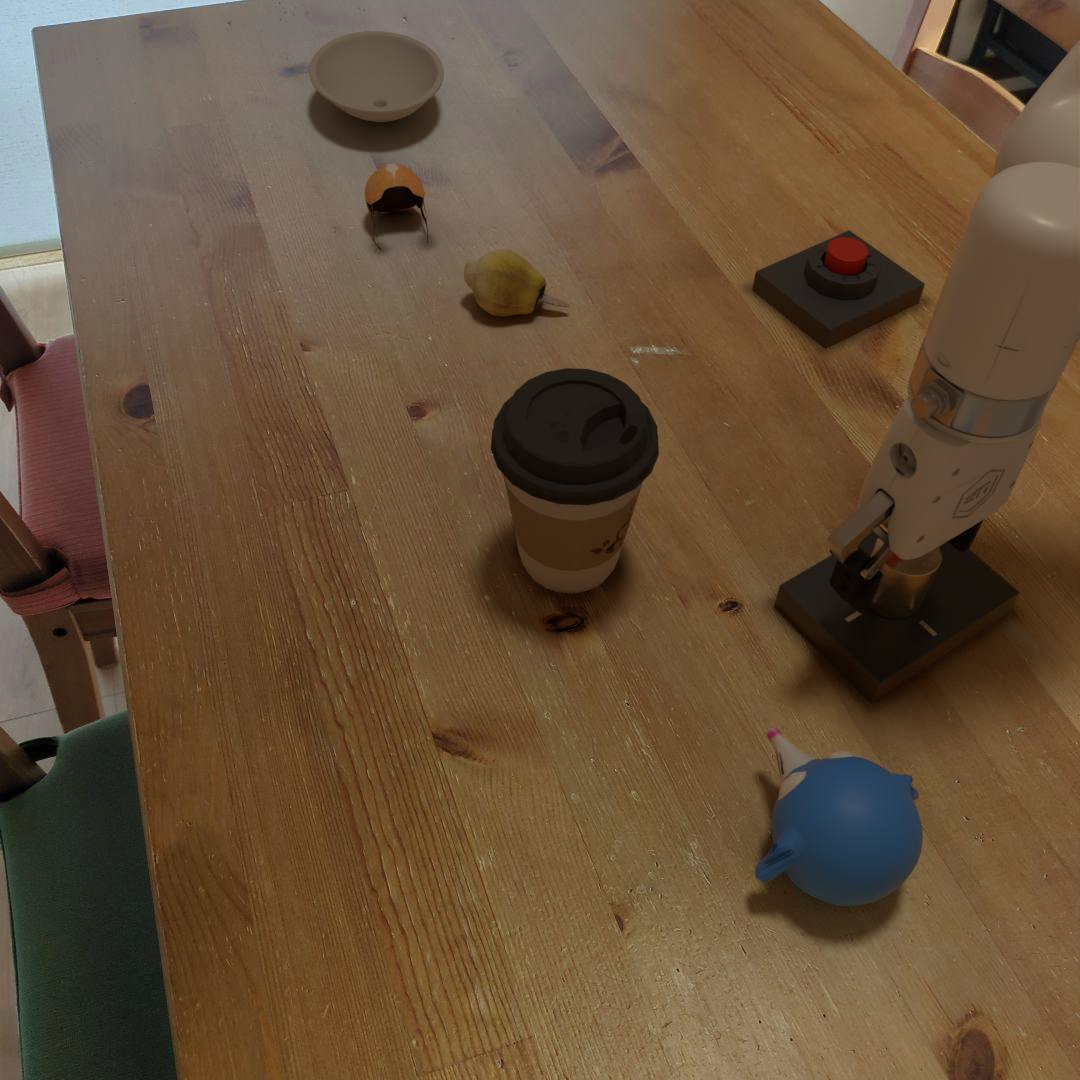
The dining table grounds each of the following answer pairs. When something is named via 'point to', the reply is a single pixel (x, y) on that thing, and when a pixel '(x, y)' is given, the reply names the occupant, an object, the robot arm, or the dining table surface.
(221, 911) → the dining table surface
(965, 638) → the dial panel
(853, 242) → the button
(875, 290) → the button box
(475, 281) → the fruit
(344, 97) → the dish
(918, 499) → the robot arm
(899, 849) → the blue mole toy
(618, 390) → the coffee cup
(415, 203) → the helmet
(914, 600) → the dial knob
